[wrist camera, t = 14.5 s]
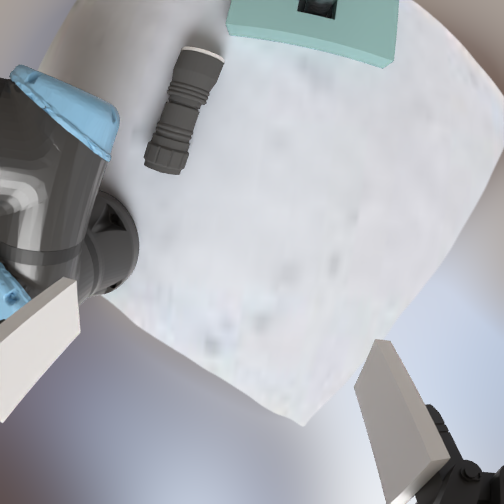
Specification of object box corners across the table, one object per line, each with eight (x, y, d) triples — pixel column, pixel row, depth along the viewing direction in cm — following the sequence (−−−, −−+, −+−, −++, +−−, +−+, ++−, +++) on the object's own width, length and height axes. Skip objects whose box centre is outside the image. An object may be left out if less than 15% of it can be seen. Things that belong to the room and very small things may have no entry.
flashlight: (186, 176, 39) (174, 180, 34) (149, 164, 39) (132, 166, 34) (227, 65, 34) (221, 53, 29) (188, 55, 34) (177, 43, 29)
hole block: (229, 35, 33) (225, 23, 29) (245, -28, 30) (243, -42, 26) (382, 68, 33) (393, 61, 29) (389, 4, 30) (399, -7, 26)
